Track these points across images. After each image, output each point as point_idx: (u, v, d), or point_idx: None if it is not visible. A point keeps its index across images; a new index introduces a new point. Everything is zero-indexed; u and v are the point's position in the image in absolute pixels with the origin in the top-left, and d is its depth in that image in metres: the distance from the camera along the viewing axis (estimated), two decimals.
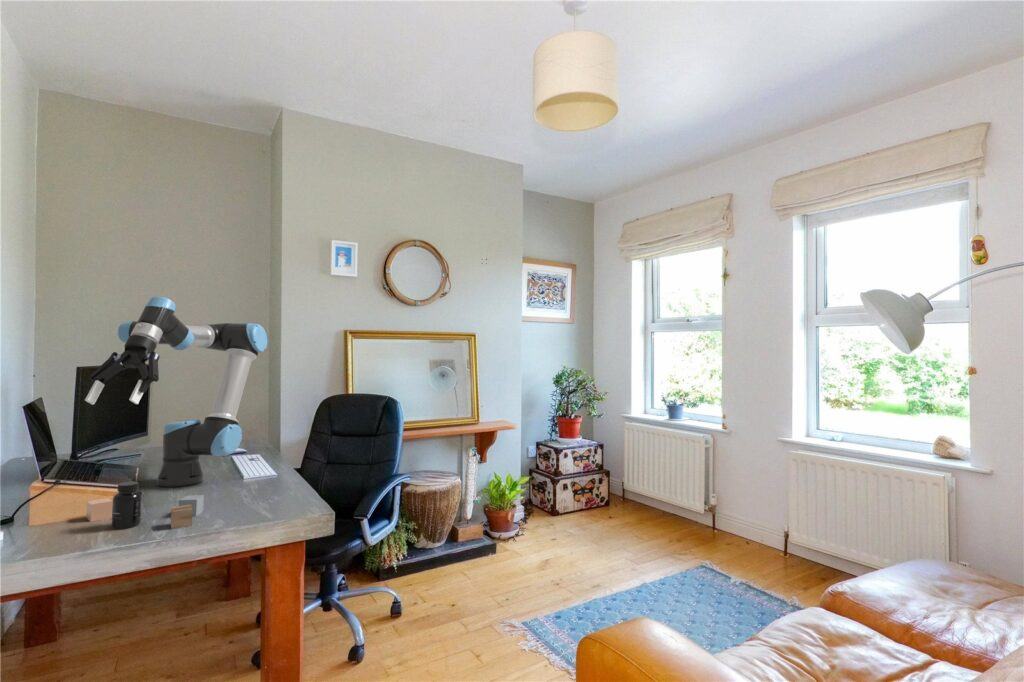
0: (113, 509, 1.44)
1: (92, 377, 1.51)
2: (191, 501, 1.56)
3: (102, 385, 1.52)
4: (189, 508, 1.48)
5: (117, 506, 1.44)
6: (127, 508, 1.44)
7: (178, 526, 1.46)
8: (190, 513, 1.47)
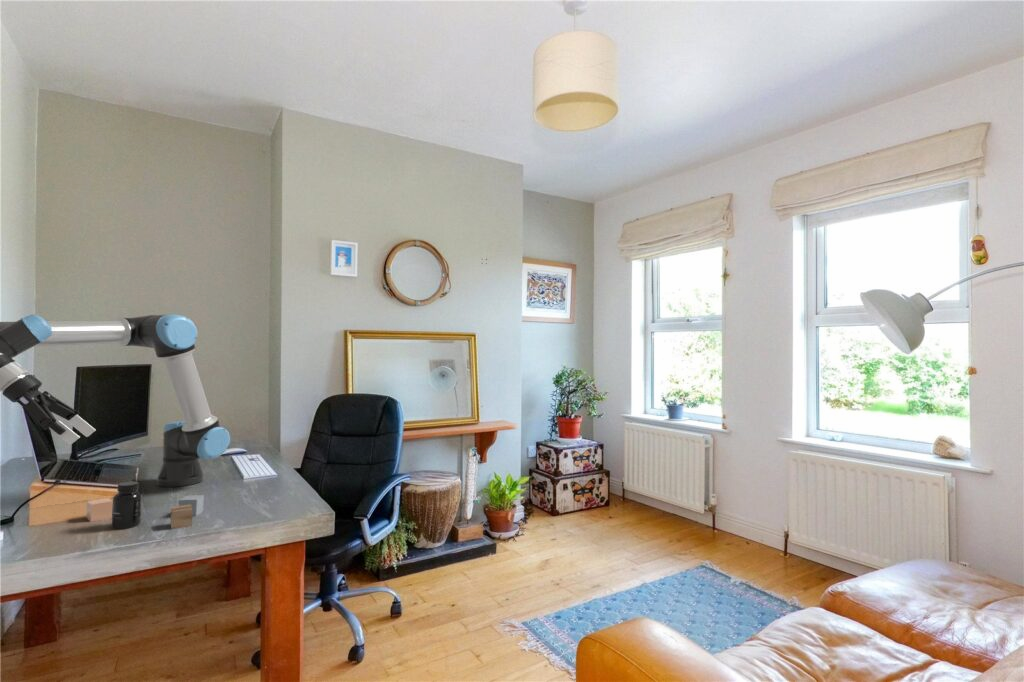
0: (113, 509, 1.44)
1: None
2: (191, 501, 1.56)
3: (75, 417, 1.47)
4: (189, 508, 1.48)
5: (117, 506, 1.44)
6: (127, 508, 1.44)
7: (178, 526, 1.46)
8: (190, 513, 1.47)
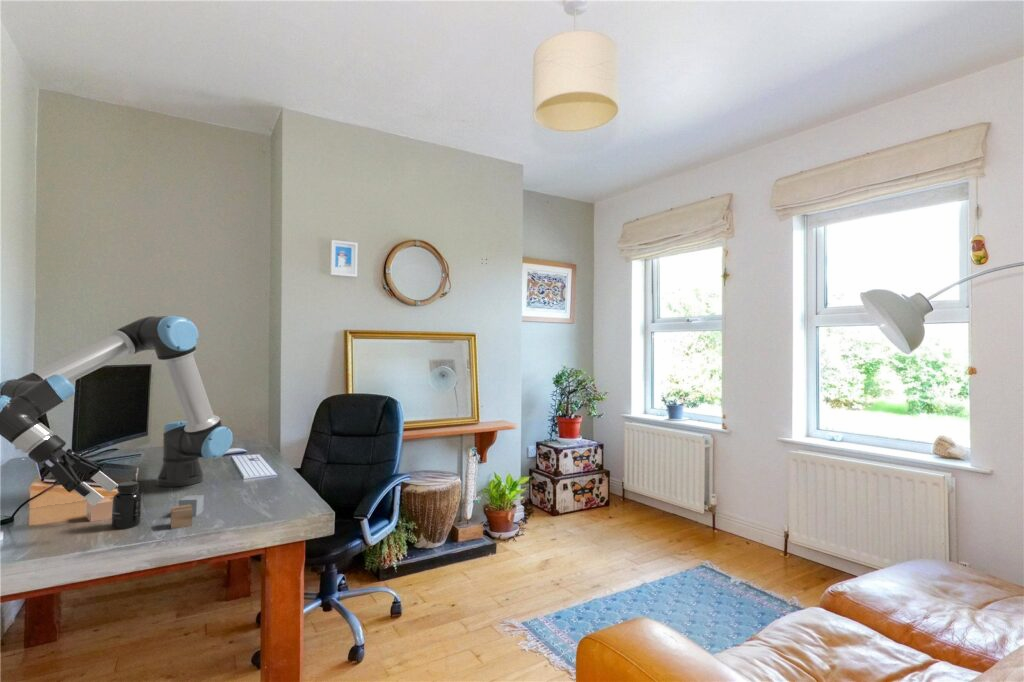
0: (113, 509, 1.44)
1: None
2: (191, 501, 1.56)
3: (98, 474, 1.49)
4: (189, 508, 1.48)
5: (117, 506, 1.44)
6: (127, 508, 1.44)
7: (178, 526, 1.46)
8: (190, 513, 1.47)
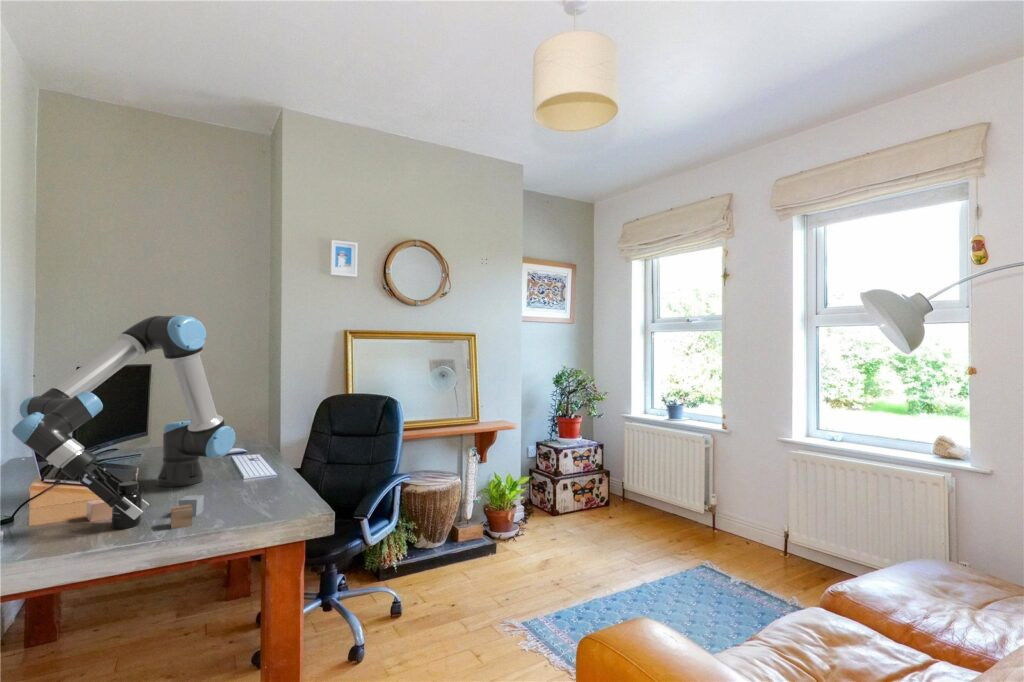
0: (113, 509, 1.44)
1: None
2: (191, 501, 1.56)
3: None
4: (189, 508, 1.48)
5: None
6: None
7: (178, 526, 1.46)
8: (190, 513, 1.47)
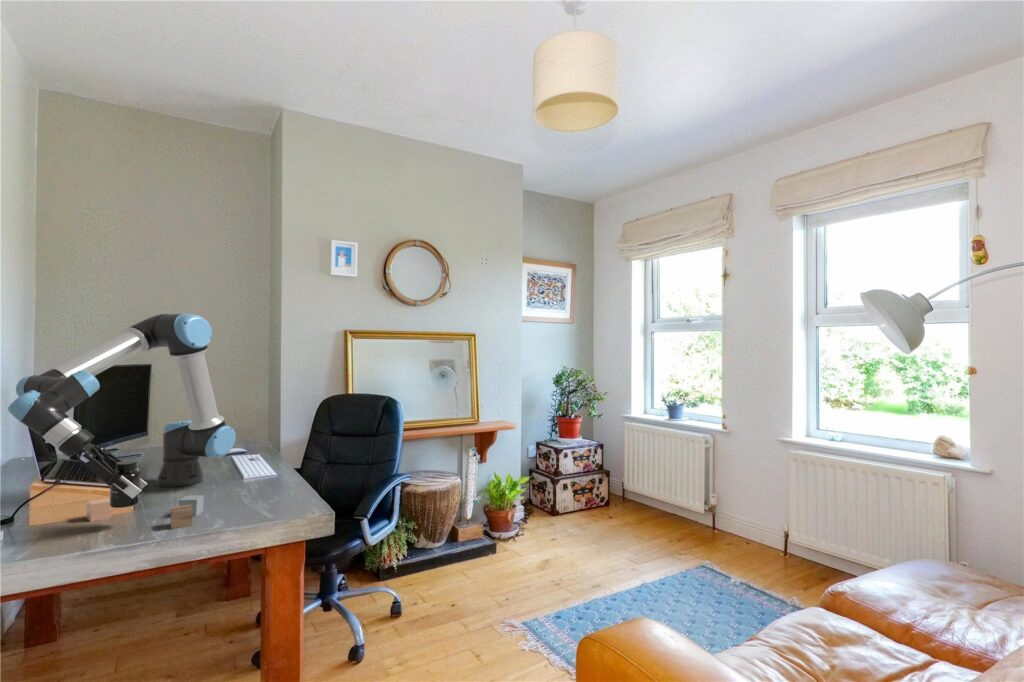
0: (111, 488, 1.44)
1: None
2: (191, 501, 1.56)
3: None
4: (189, 508, 1.48)
5: None
6: None
7: (178, 526, 1.46)
8: (190, 513, 1.47)
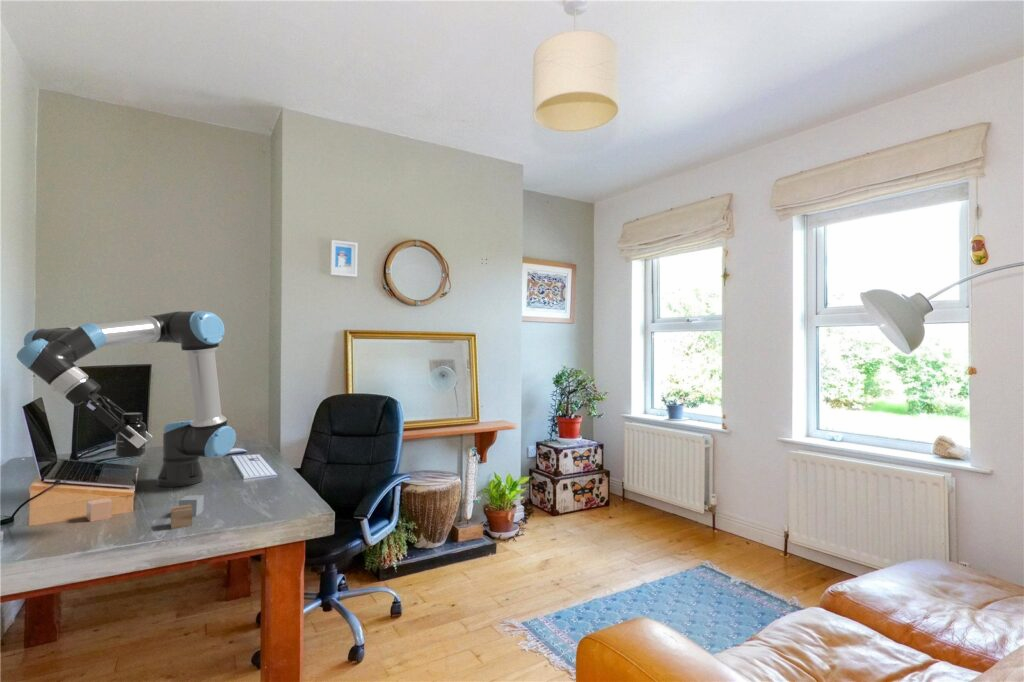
0: (117, 437, 1.45)
1: None
2: (191, 501, 1.56)
3: None
4: (189, 508, 1.48)
5: None
6: None
7: (178, 526, 1.46)
8: (190, 513, 1.47)
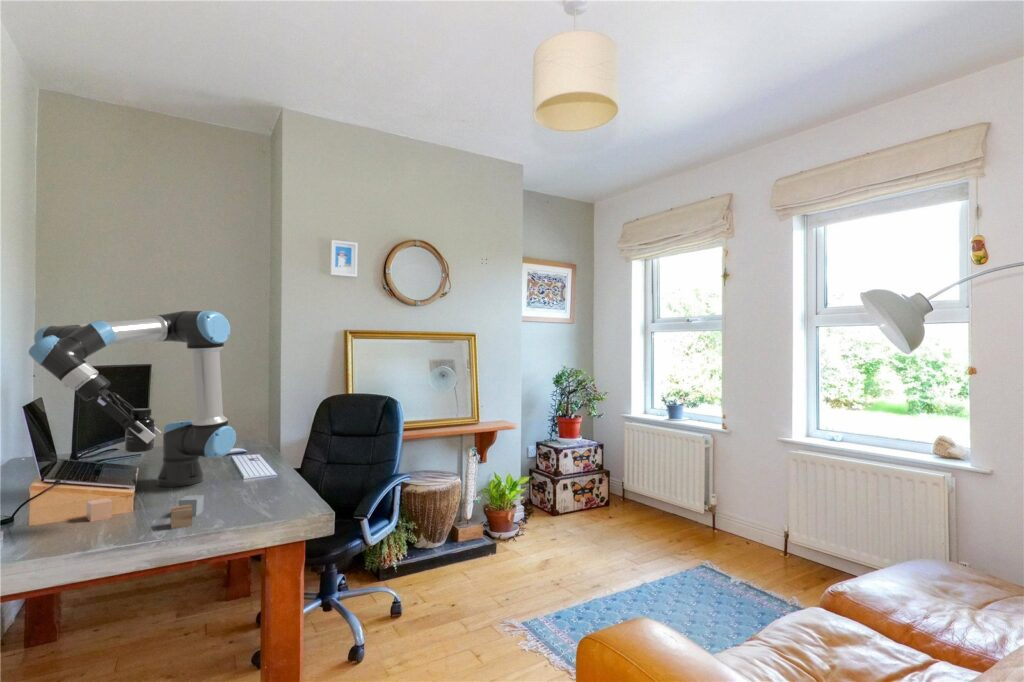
0: (126, 433, 1.47)
1: None
2: (191, 501, 1.56)
3: None
4: (189, 508, 1.48)
5: None
6: None
7: (178, 526, 1.46)
8: (190, 513, 1.47)
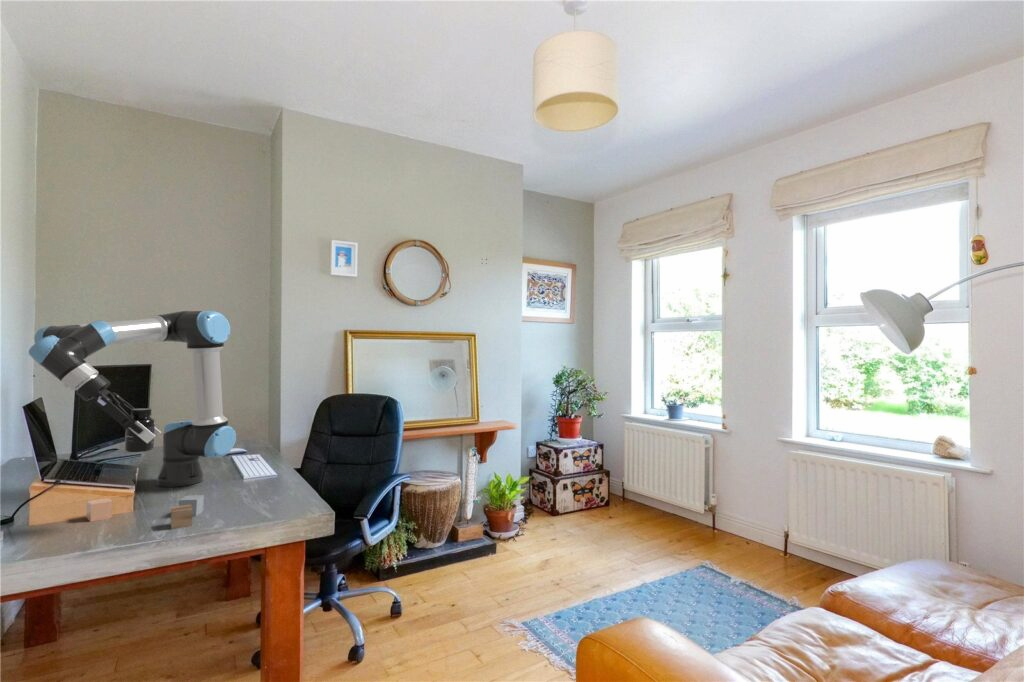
0: (126, 433, 1.47)
1: None
2: (191, 501, 1.56)
3: None
4: (189, 508, 1.48)
5: None
6: None
7: (178, 526, 1.46)
8: (190, 513, 1.47)
